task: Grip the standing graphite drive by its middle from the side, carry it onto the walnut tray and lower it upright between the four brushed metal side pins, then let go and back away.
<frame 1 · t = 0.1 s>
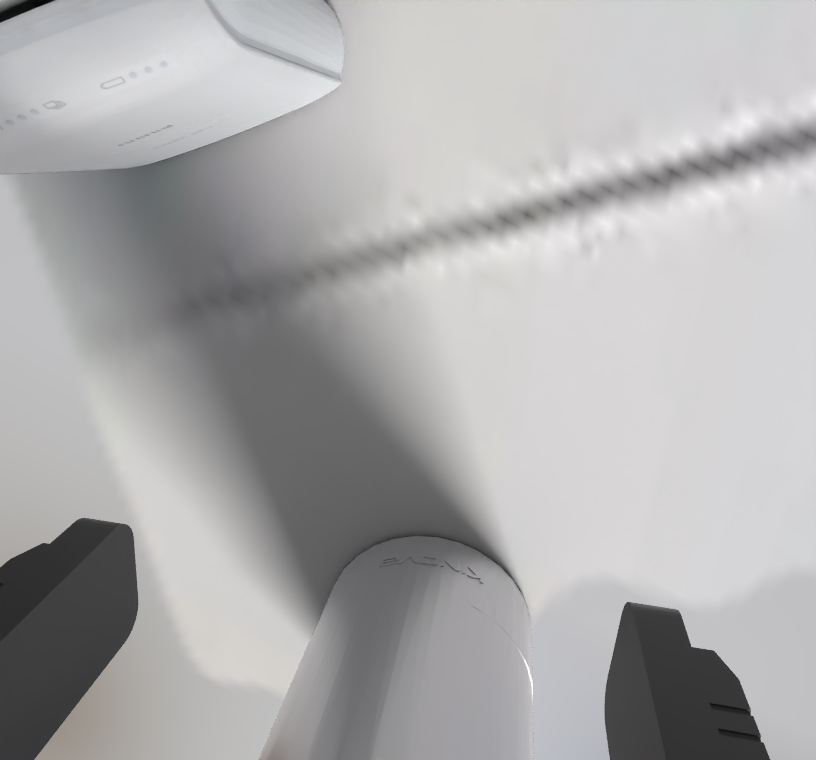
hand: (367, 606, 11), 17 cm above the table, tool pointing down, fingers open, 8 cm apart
photo printer: (218, 82, 26), on the table
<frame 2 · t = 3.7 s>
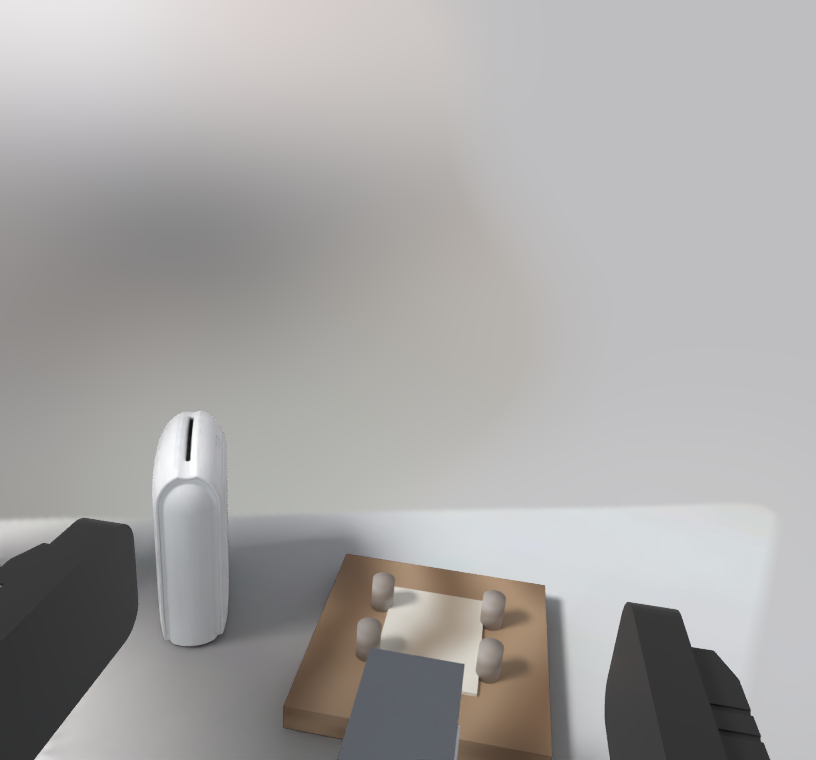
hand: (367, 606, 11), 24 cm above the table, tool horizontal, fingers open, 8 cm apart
pin tray: (429, 657, 43), on the table
photo printer: (196, 597, 47), on the table
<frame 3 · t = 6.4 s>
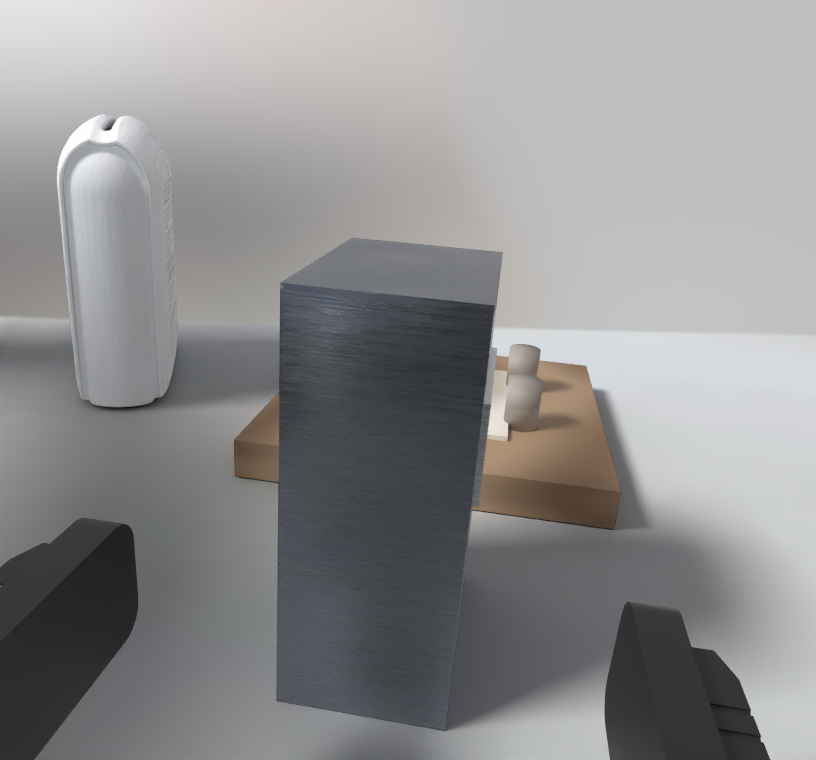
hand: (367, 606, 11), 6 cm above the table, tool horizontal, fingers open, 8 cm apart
pin tray: (439, 426, 32), on the table
graphite drive: (383, 629, 19), on the table
photo printer: (133, 376, 36), on the table
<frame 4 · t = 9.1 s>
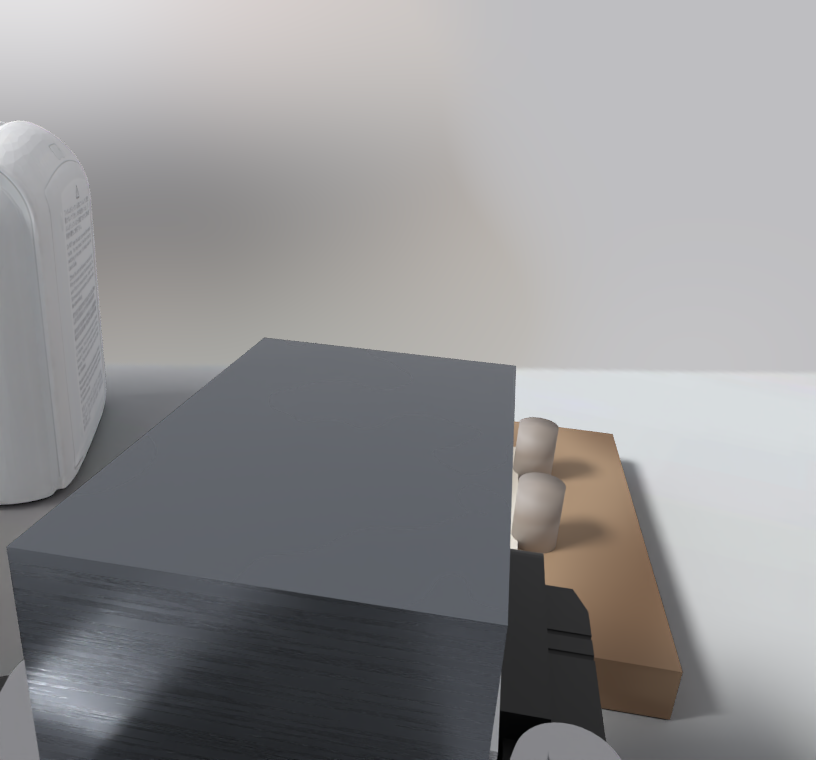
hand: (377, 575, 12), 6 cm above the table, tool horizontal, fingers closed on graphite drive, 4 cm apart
pin tray: (426, 527, 25), on the table
photo printer: (42, 448, 28), on the table
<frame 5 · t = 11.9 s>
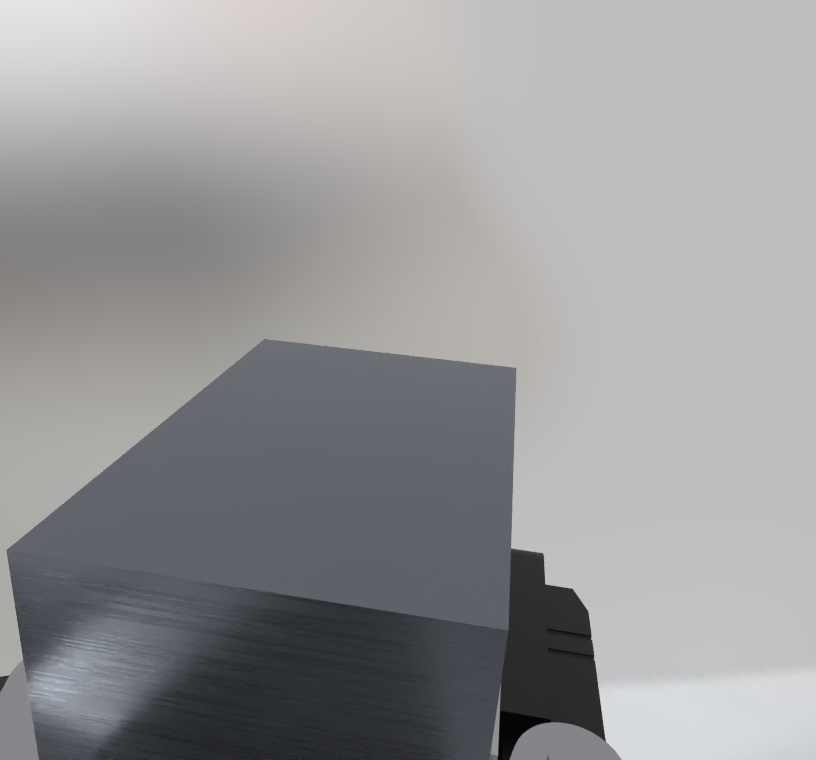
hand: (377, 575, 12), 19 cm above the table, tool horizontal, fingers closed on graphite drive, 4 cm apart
when the fingers open (9 cm above the table, at t = 14.8 s): graphite drive stays where it is, resting on pin tray.
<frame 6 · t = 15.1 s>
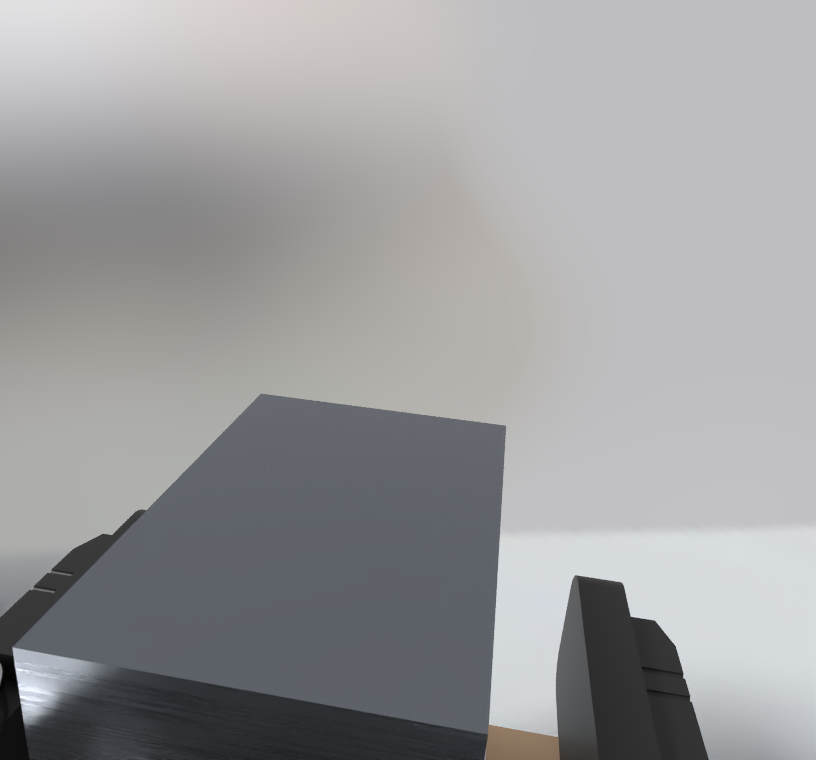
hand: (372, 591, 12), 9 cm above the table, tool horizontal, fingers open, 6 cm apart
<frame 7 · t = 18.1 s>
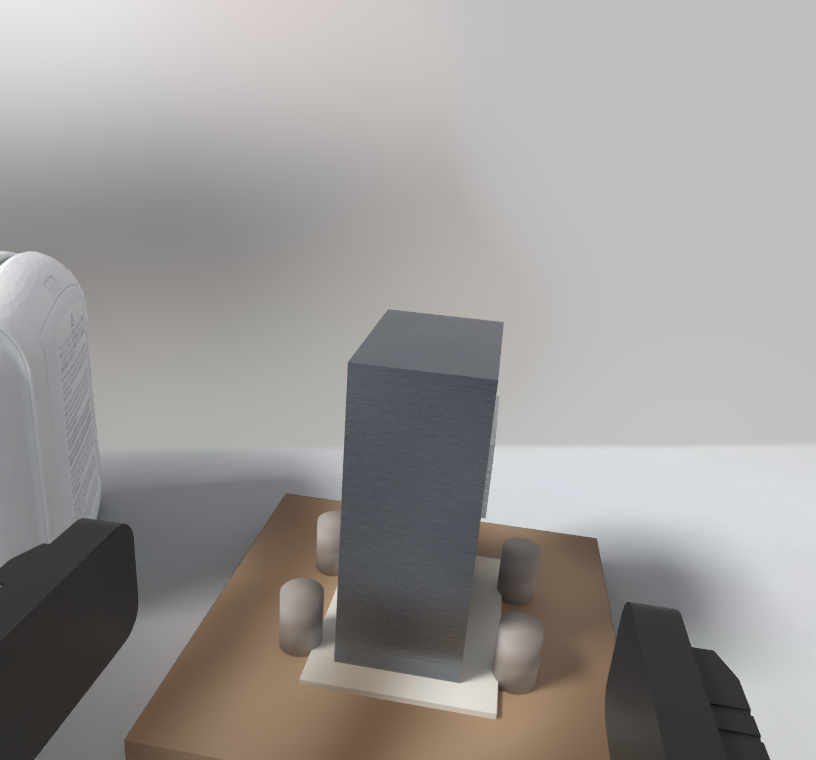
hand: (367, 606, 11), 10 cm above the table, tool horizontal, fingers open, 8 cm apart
pin tray: (411, 650, 25), on the table
graphite drive: (410, 611, 25), point 2 cm above the table, touching pin tray
photo printer: (38, 558, 29), on the table
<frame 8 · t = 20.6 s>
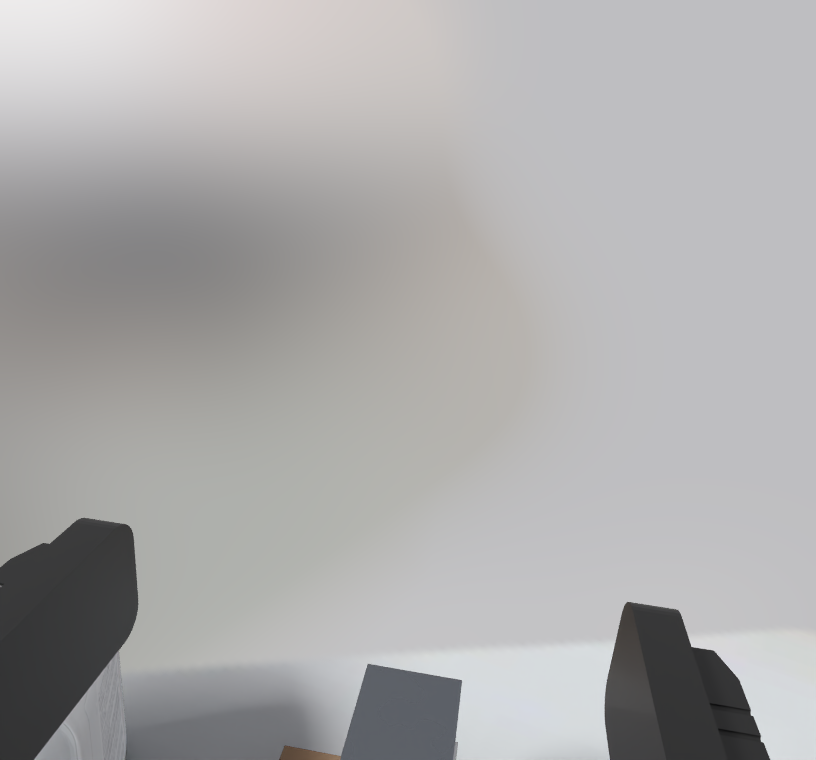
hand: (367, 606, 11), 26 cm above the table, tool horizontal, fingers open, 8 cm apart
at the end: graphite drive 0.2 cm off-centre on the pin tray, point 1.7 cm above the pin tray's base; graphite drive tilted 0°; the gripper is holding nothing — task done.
